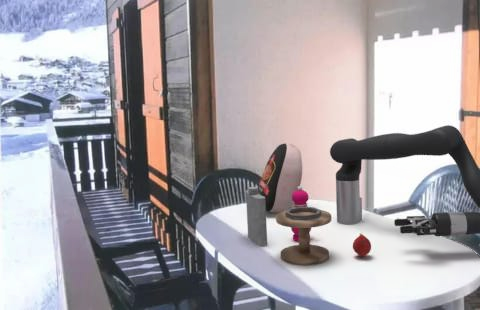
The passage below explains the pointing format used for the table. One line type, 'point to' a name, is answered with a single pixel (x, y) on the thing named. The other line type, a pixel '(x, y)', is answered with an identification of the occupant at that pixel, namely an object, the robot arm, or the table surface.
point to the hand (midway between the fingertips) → (397, 226)
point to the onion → (362, 245)
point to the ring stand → (304, 235)
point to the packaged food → (281, 178)
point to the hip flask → (256, 217)
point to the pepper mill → (299, 201)
